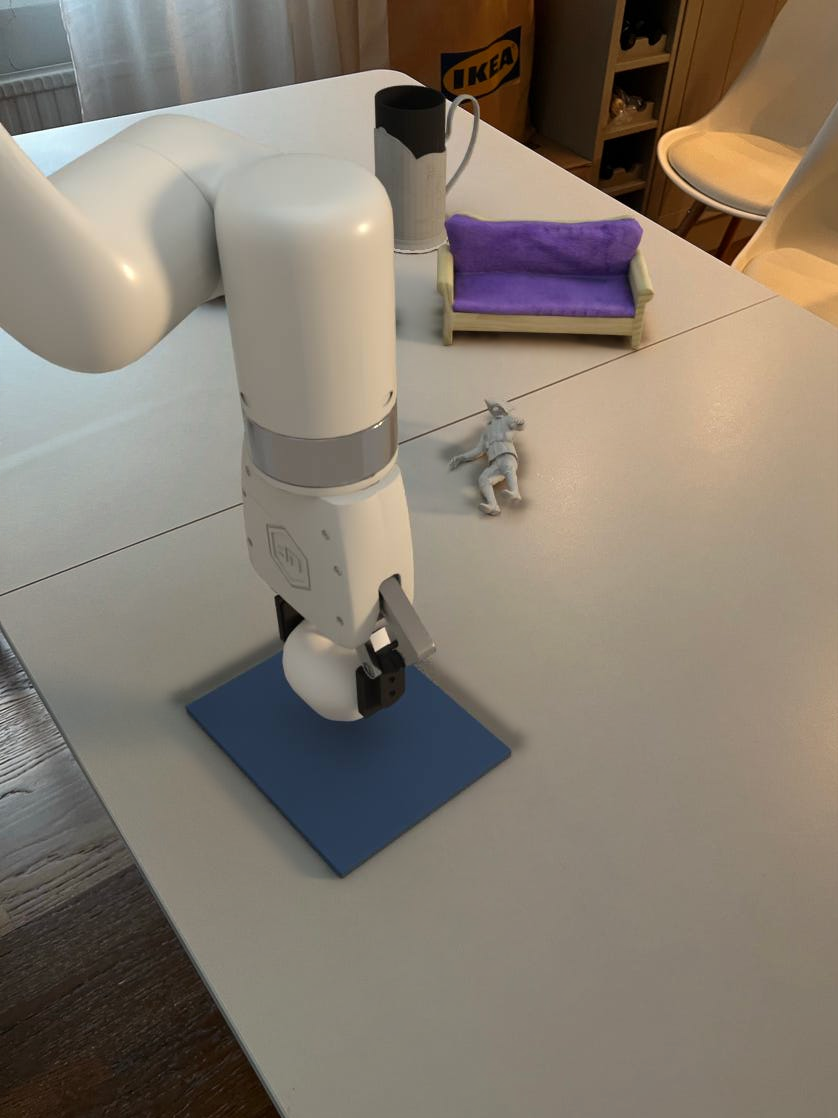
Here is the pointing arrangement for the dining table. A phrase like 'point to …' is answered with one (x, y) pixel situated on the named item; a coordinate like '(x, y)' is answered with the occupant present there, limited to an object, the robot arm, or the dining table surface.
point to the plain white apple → (325, 671)
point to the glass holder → (416, 160)
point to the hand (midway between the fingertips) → (341, 666)
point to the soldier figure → (497, 454)
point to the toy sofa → (543, 276)
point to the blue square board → (348, 758)
